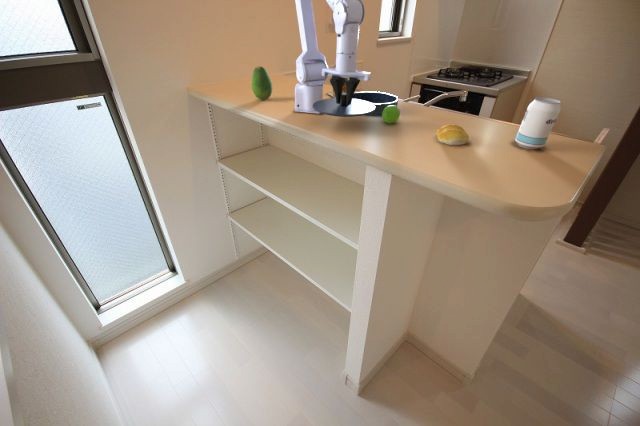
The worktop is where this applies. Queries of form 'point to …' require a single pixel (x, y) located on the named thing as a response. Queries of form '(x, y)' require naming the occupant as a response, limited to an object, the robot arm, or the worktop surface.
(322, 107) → the lid
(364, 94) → the pot
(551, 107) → the beverage can
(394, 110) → the lime
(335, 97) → the condiment
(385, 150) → the worktop surface
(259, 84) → the fruit
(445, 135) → the bread roll
